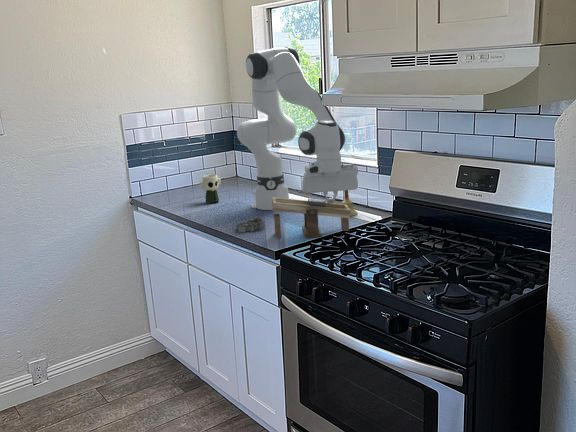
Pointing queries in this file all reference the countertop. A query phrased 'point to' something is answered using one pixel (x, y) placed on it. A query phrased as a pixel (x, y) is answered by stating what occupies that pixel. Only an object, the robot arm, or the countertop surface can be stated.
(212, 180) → the spiky head figurine
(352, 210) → the hand bell
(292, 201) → the beam
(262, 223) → the egg carton
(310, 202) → the steel block
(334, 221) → the countertop surface
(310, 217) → the beam stand
